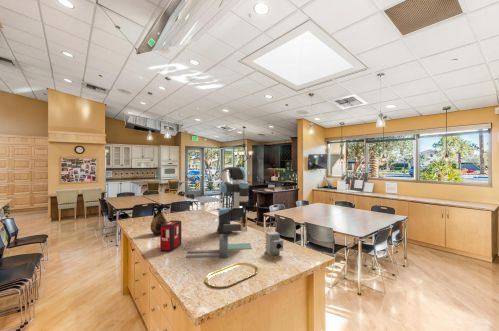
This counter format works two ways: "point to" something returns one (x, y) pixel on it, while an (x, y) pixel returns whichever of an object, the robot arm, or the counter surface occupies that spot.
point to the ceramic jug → (157, 219)
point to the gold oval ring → (230, 268)
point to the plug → (234, 226)
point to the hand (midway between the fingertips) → (243, 229)
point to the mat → (239, 246)
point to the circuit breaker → (273, 243)
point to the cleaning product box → (170, 236)
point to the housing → (222, 250)
